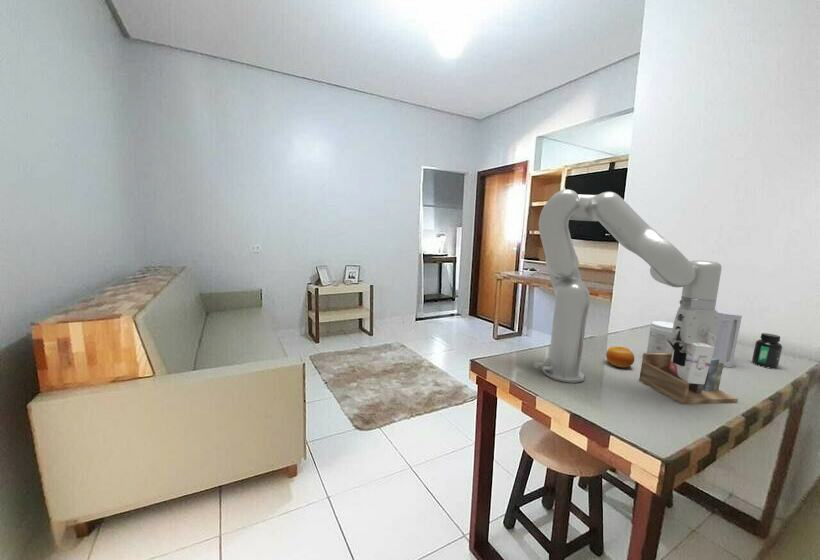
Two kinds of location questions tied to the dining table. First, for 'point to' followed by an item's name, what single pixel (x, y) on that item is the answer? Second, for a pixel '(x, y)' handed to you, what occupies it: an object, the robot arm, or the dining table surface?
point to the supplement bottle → (767, 351)
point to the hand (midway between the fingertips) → (688, 363)
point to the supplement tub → (660, 337)
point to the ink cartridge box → (695, 361)
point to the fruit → (620, 356)
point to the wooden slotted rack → (683, 392)
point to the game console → (726, 336)
